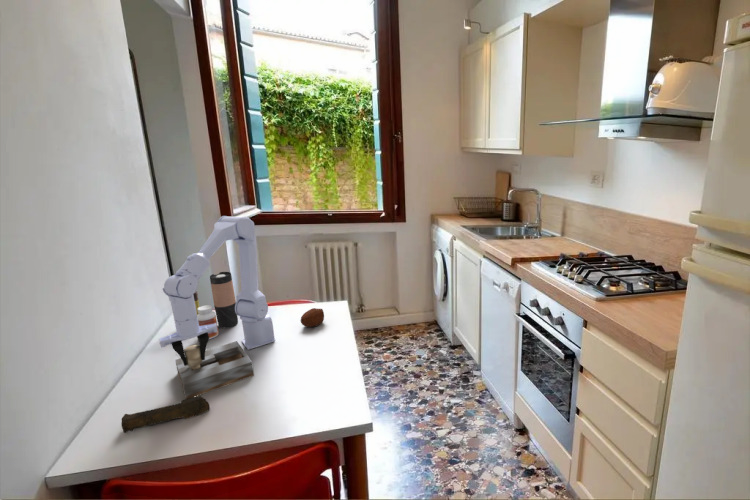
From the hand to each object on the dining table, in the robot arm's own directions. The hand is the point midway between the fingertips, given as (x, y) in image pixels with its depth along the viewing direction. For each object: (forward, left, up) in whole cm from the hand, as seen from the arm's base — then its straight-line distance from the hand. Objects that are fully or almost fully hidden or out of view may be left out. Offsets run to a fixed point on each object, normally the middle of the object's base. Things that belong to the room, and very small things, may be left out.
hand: (194, 361), depth 108 cm
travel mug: (-17, -34, -6) cm, 38 cm away
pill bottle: (-9, -28, -6) cm, 30 cm away
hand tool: (+9, +13, -7) cm, 17 cm away
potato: (-42, -11, -6) cm, 44 cm away
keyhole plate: (-5, 0, -6) cm, 8 cm away
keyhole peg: (0, 0, -5) cm, 5 cm away
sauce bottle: (-6, -42, -6) cm, 43 cm away
